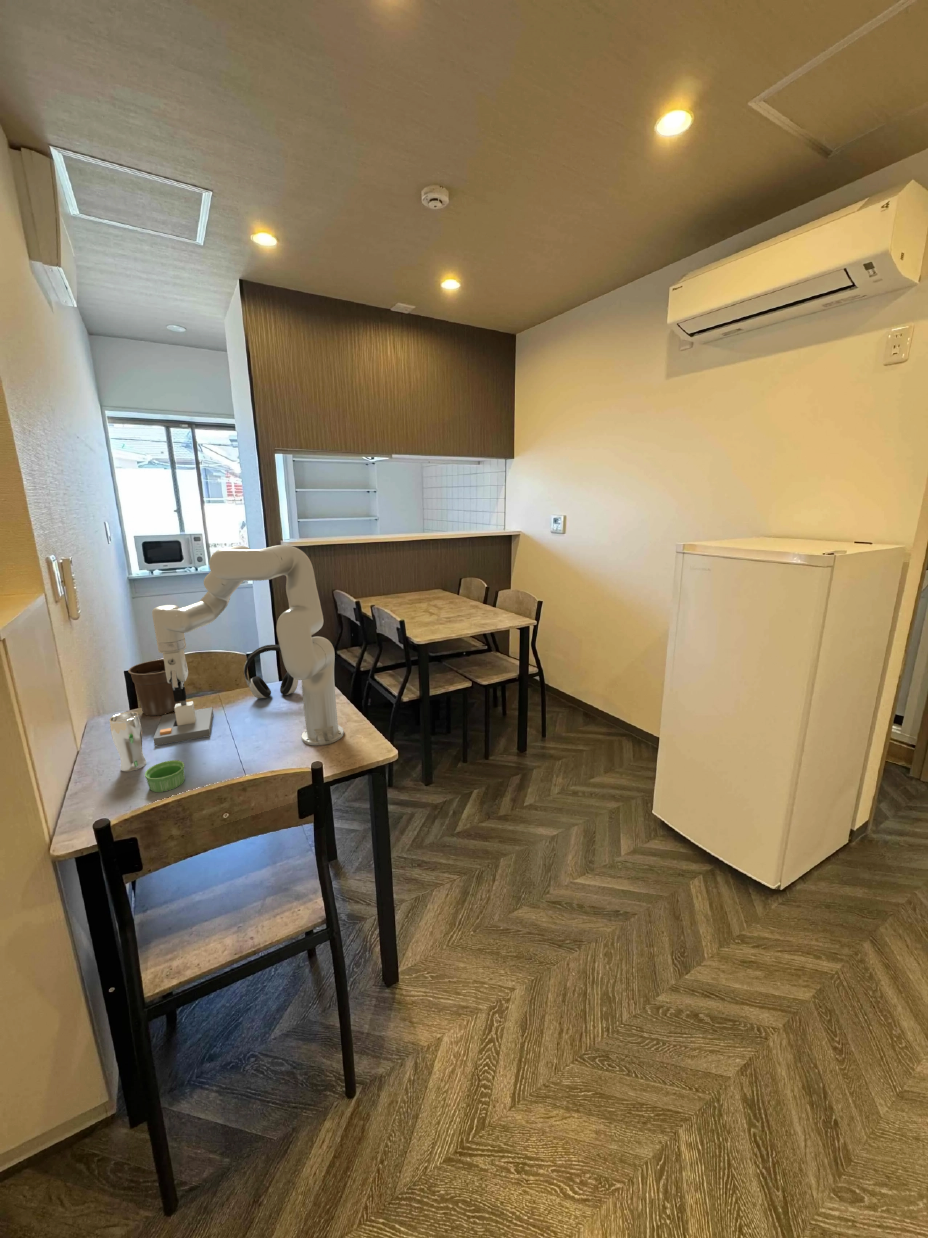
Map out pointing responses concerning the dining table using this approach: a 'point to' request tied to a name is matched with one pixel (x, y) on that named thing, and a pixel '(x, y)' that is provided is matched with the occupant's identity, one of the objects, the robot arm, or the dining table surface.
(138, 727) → the beer glass
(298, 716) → the dining table surface
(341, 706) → the dining table surface
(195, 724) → the socket
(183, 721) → the plug
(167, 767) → the ramekin
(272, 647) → the headphones
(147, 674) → the plant pot
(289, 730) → the dining table surface
